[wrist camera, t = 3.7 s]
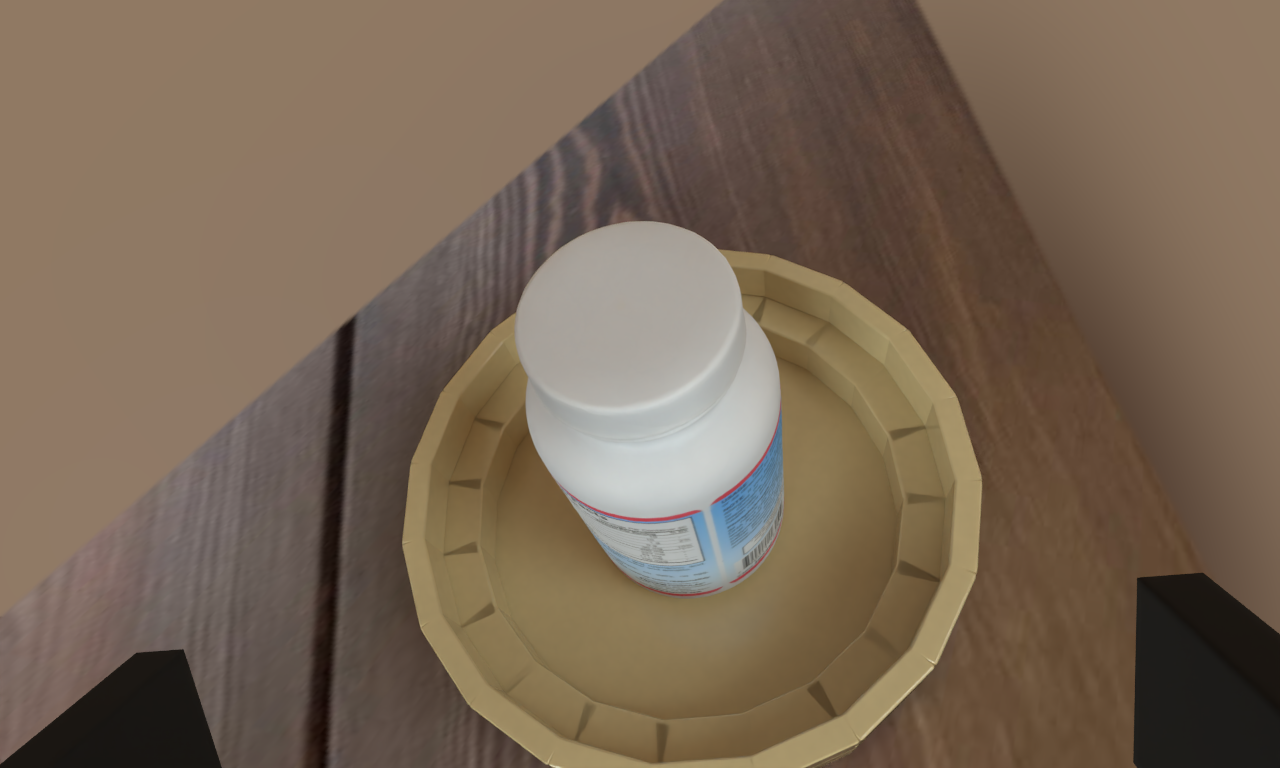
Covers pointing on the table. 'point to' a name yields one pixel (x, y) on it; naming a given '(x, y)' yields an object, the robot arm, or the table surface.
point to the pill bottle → (656, 405)
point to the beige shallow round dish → (721, 623)
